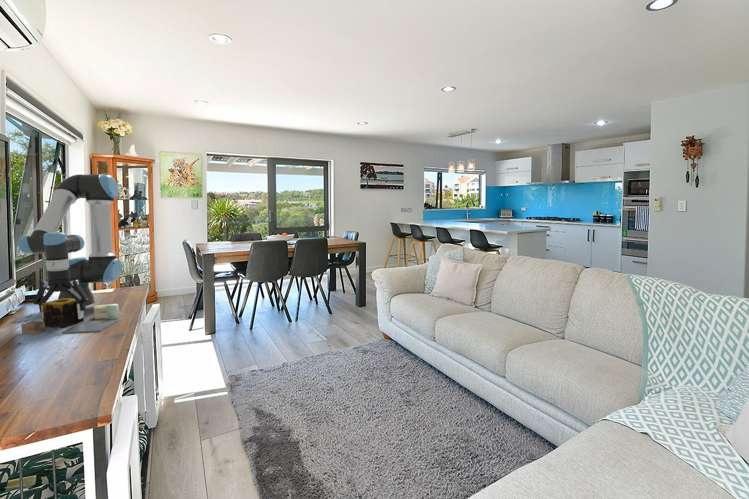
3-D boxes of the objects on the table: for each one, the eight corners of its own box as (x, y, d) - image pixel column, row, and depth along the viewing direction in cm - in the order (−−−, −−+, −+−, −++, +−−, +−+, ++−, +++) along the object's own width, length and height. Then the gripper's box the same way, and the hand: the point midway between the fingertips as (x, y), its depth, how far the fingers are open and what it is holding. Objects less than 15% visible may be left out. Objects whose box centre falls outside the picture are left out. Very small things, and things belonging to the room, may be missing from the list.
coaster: (82, 322, 172) (82, 321, 172) (117, 321, 174) (117, 319, 174) (62, 333, 159) (61, 332, 159) (100, 331, 161) (100, 330, 161)
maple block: (96, 316, 182) (95, 305, 181) (109, 314, 184) (108, 304, 184) (94, 319, 178) (93, 308, 177) (108, 317, 180) (107, 306, 179)
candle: (62, 328, 166) (60, 304, 164) (42, 327, 168) (39, 303, 166) (85, 320, 175) (82, 298, 174) (65, 319, 177) (63, 297, 176)
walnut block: (34, 330, 164) (33, 320, 163) (45, 330, 163) (44, 321, 162) (22, 334, 159) (21, 324, 158) (33, 334, 158) (32, 325, 157)
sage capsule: (110, 317, 181) (109, 304, 180) (121, 316, 181) (120, 303, 180) (105, 320, 176) (104, 306, 176) (116, 319, 177) (115, 306, 176)
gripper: (18, 272, 163) (24, 323, 166) (85, 270, 167) (90, 320, 169) (31, 269, 170) (37, 317, 173) (95, 267, 174) (100, 315, 176)
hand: (63, 319), depth 171 cm, fingers open, 13 cm apart
